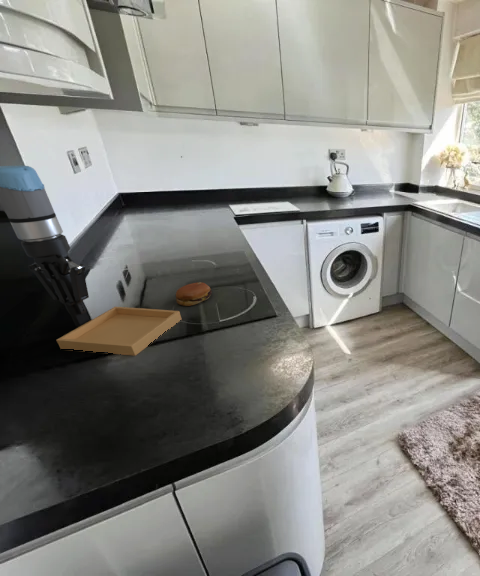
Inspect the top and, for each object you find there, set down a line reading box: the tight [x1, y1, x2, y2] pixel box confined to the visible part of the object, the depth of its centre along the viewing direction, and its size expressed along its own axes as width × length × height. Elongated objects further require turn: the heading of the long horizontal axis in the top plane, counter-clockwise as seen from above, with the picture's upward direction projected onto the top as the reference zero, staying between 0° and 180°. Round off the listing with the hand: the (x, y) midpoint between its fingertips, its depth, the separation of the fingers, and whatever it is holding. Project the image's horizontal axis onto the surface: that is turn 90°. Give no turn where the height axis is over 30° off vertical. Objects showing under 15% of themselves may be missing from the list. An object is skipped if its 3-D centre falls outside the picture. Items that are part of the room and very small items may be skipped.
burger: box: [175, 281, 213, 307], centre depth 101 cm, size 10×9×5 cm
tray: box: [56, 306, 182, 357], centre depth 84 cm, size 20×17×3 cm
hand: (83, 323), depth 85 cm, fingers closed
